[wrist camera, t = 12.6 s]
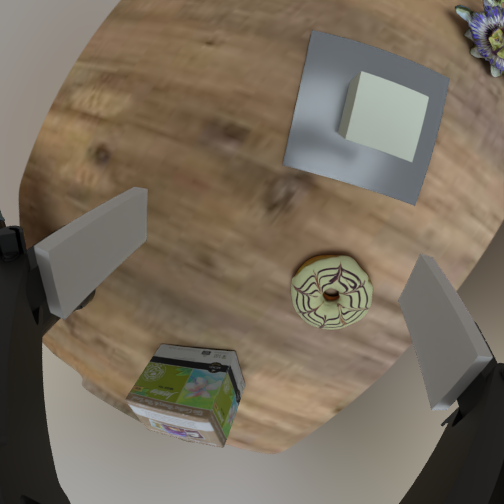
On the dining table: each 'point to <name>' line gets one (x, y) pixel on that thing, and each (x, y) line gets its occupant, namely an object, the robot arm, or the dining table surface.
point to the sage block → (383, 115)
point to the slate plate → (331, 109)
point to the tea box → (189, 393)
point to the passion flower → (486, 33)
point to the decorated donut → (339, 278)
